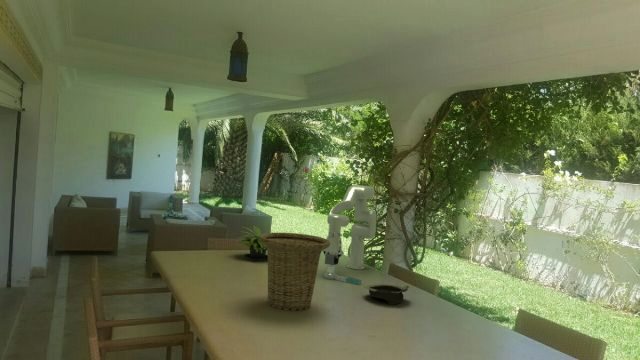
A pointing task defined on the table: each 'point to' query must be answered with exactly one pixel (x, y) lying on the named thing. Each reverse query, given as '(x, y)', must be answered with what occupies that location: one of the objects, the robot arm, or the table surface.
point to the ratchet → (332, 275)
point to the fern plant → (254, 247)
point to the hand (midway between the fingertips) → (331, 262)
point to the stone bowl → (387, 292)
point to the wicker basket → (292, 268)
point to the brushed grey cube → (330, 259)
